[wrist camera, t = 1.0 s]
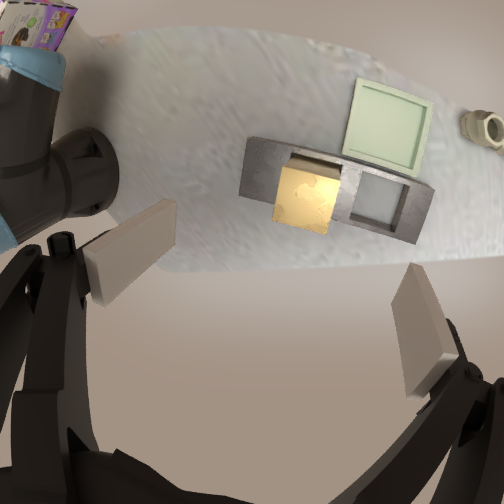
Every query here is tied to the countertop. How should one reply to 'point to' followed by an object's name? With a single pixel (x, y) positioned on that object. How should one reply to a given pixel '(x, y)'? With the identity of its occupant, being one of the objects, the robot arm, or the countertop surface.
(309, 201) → the wooden block
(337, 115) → the countertop surface
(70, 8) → the candy box
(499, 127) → the valve
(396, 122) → the tray
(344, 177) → the grey slotted holder
